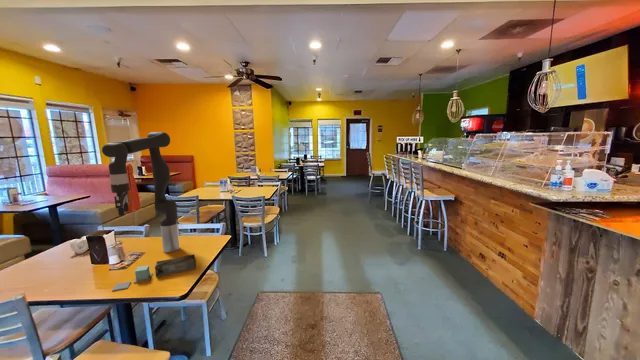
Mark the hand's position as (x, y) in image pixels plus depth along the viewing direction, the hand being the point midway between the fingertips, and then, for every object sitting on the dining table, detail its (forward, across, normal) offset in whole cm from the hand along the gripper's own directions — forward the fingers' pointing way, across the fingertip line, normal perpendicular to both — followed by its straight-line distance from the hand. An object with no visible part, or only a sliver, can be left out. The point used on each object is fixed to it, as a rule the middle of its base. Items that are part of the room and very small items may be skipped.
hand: (124, 213), depth 140 cm
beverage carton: (+34, +7, +22) cm, 41 cm away
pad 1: (+33, +15, -1) cm, 36 cm away
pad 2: (+33, +10, +7) cm, 35 cm away
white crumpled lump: (+34, -48, -38) cm, 70 cm away
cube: (+32, +10, +7) cm, 35 cm away
